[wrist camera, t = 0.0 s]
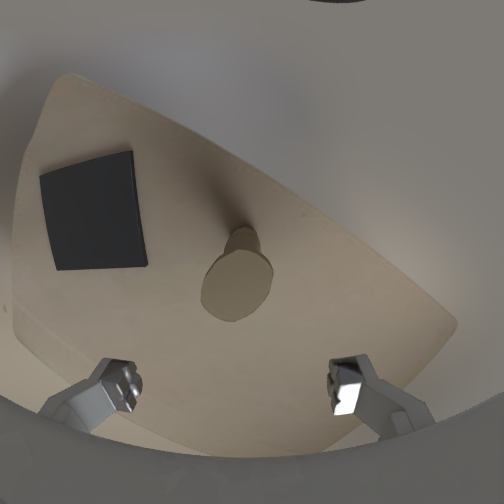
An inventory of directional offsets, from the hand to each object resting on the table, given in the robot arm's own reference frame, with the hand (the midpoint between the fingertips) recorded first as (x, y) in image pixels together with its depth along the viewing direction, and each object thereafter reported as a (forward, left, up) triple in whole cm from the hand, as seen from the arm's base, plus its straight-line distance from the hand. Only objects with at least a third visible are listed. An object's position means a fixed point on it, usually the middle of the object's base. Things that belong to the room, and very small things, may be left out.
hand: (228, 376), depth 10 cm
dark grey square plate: (-4, -24, -26) cm, 35 cm away
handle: (+1, -1, -26) cm, 26 cm away
